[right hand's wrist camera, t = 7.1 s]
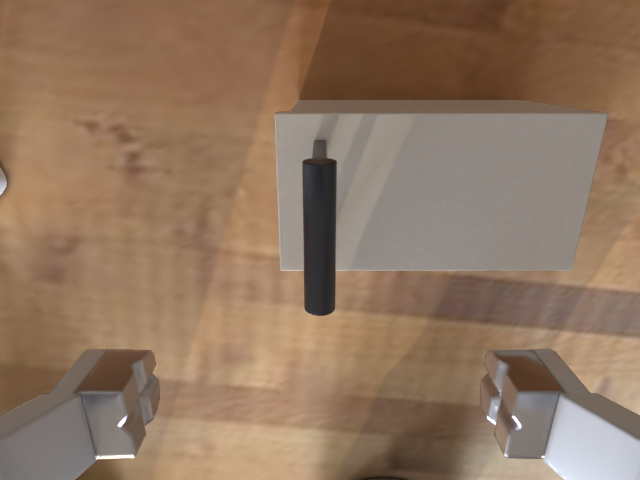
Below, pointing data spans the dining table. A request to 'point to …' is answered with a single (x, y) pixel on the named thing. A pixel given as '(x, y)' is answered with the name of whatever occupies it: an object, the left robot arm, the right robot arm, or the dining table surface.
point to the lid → (431, 192)
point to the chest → (424, 106)
